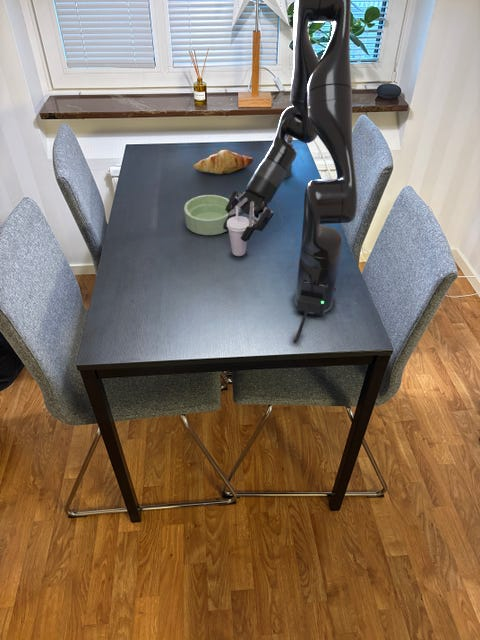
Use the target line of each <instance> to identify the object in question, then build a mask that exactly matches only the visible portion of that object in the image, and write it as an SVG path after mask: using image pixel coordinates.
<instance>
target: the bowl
mask: <svg viewBox="0 0 480 640" xmlns="http://www.w3.org/2000/svg"><path fill="white" fill-rule="evenodd" d="M229 200H230V199H228V198H227V197H225V196H221V195H216V194H202V195H198V196H195V197H192V198H191V199H189V200H187V201H186V203H185V204H184V206H183V207H184V208H183V213H184V214H183V215H184V224H185V226H186V228H187V229H188V230H189V231H191V232H193V233H194V234H197V235H203V236H216V235H221V234H223V233H225V232H228V231H227V230H225V229H223V224H224V222H225V221H226V219H227V217H228V215H229V214H228V212H227V211H226V210H225V208H226V206H227V204H228V202H229ZM231 207H232V206H231Z"/></svg>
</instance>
